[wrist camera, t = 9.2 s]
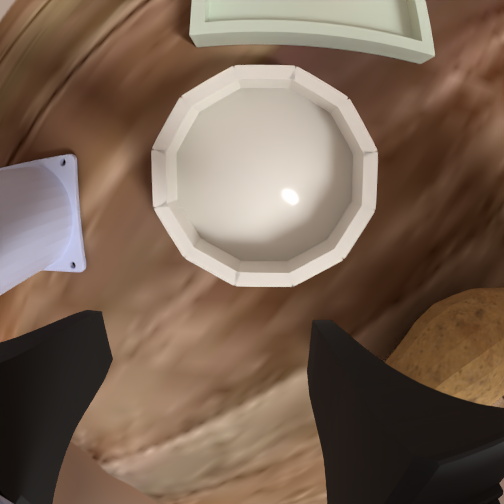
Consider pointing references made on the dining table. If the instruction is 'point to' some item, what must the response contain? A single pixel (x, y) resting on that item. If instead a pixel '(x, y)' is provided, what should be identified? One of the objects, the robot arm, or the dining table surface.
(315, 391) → the robot arm
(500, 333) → the potato
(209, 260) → the dish
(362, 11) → the tray
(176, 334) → the dining table surface
